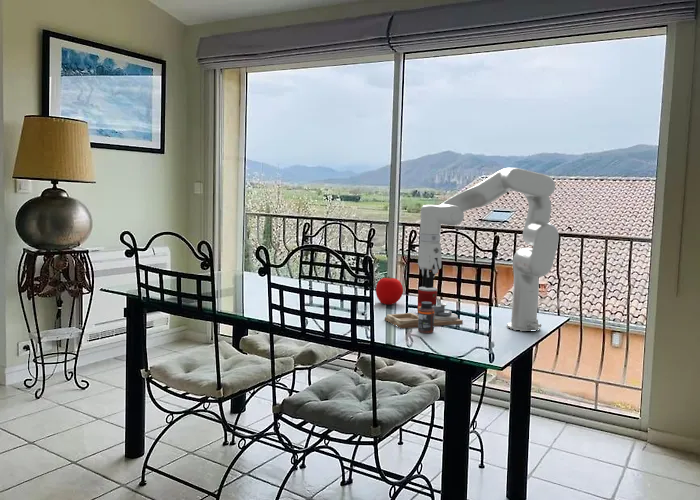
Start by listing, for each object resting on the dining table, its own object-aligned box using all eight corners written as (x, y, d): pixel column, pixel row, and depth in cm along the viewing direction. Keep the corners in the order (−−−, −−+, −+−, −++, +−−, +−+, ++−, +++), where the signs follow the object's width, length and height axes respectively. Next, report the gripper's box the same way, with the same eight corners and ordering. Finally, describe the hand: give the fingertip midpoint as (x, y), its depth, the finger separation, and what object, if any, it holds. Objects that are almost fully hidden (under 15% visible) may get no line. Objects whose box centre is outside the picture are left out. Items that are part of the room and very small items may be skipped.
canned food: (435, 316, 267) (436, 290, 265) (416, 314, 268) (417, 289, 267) (436, 312, 274) (437, 287, 273) (418, 310, 276) (419, 285, 274)
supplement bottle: (430, 329, 244) (431, 300, 242) (435, 333, 238) (437, 303, 237) (415, 329, 243) (416, 300, 241) (420, 333, 237) (422, 304, 235)
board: (464, 323, 255) (465, 316, 255) (400, 328, 244) (400, 321, 244) (446, 315, 268) (446, 309, 268) (384, 320, 257) (384, 313, 256)
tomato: (371, 304, 285) (372, 277, 284) (380, 300, 296) (381, 273, 295) (397, 307, 281) (398, 279, 279) (405, 302, 291) (406, 275, 290)
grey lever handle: (444, 311, 264) (445, 301, 263) (455, 315, 258) (455, 305, 257) (414, 314, 257) (415, 304, 256) (424, 318, 251) (425, 307, 250)
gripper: (449, 240, 230) (447, 290, 233) (428, 235, 244) (425, 283, 247) (431, 241, 227) (429, 291, 230) (410, 236, 242) (408, 283, 244)
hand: (427, 286), depth 238 cm, fingers closed
